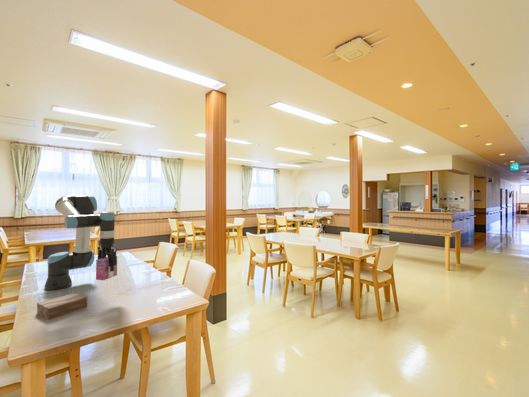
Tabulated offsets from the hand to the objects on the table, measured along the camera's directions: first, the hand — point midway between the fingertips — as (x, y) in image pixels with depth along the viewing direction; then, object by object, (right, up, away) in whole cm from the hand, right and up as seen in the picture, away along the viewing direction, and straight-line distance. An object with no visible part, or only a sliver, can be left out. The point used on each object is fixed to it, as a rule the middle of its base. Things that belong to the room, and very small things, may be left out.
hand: (106, 275), depth 159 cm
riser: (-17, -16, -13) cm, 26 cm away
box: (0, -1, 0) cm, 1 cm away
